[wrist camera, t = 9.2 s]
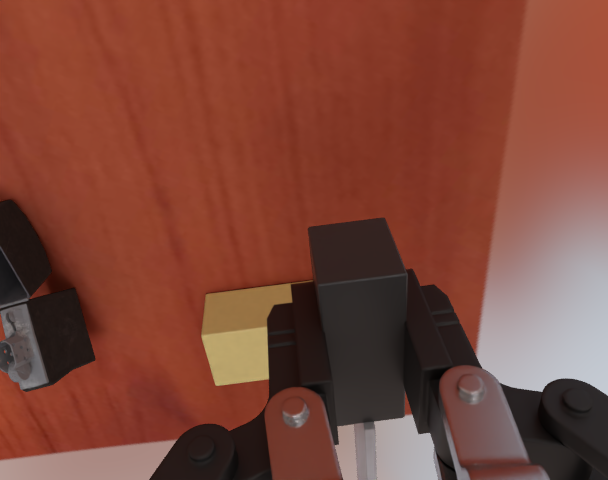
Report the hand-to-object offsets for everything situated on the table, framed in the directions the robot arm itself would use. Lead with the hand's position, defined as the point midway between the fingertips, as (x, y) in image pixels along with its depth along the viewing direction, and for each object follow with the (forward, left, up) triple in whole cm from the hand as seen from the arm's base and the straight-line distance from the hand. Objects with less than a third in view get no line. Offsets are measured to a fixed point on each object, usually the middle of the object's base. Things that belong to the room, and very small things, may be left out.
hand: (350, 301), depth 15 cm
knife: (+4, +3, 0) cm, 5 cm away
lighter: (+11, -9, -10) cm, 17 cm away
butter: (+9, +2, -10) cm, 13 cm away
